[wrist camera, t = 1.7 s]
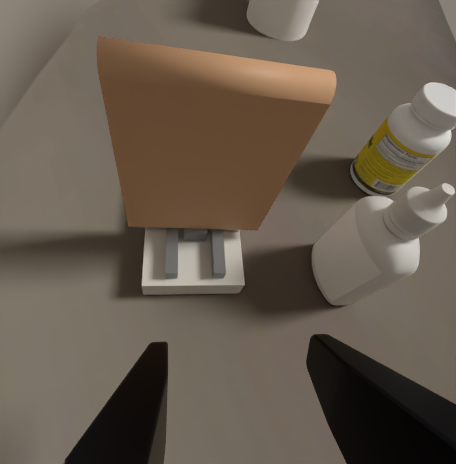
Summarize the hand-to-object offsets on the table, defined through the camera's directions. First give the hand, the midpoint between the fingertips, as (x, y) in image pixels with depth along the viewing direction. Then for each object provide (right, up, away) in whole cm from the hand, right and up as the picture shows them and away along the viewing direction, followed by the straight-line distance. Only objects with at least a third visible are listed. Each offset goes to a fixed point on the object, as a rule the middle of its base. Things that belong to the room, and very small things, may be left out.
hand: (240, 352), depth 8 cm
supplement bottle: (+15, +9, +24) cm, 30 cm away
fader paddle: (-3, +4, +14) cm, 15 cm away
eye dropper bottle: (+8, 0, +18) cm, 19 cm away
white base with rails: (-4, +5, +18) cm, 19 cm away
